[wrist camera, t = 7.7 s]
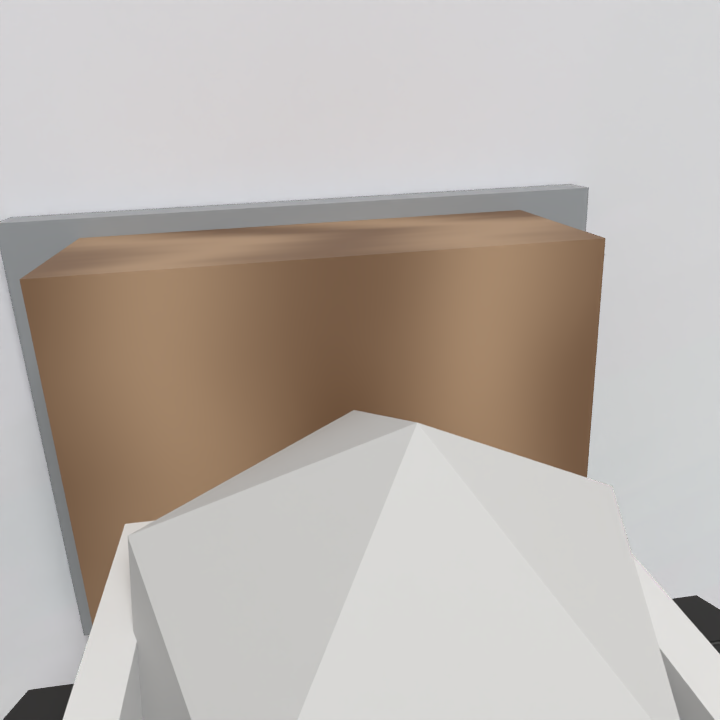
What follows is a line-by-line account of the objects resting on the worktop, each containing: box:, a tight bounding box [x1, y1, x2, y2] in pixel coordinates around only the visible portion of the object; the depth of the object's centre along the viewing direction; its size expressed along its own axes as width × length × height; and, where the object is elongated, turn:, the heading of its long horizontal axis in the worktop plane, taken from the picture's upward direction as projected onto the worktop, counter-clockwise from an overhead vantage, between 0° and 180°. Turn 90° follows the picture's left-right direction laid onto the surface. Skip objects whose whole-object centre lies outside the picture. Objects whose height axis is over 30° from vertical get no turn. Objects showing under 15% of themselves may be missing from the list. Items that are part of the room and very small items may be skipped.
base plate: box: [0, 184, 589, 635], centre depth 21 cm, size 16×13×1 cm
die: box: [128, 410, 680, 720], centre depth 11 cm, size 8×9×10 cm
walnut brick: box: [19, 210, 605, 626], centre depth 18 cm, size 12×12×5 cm
